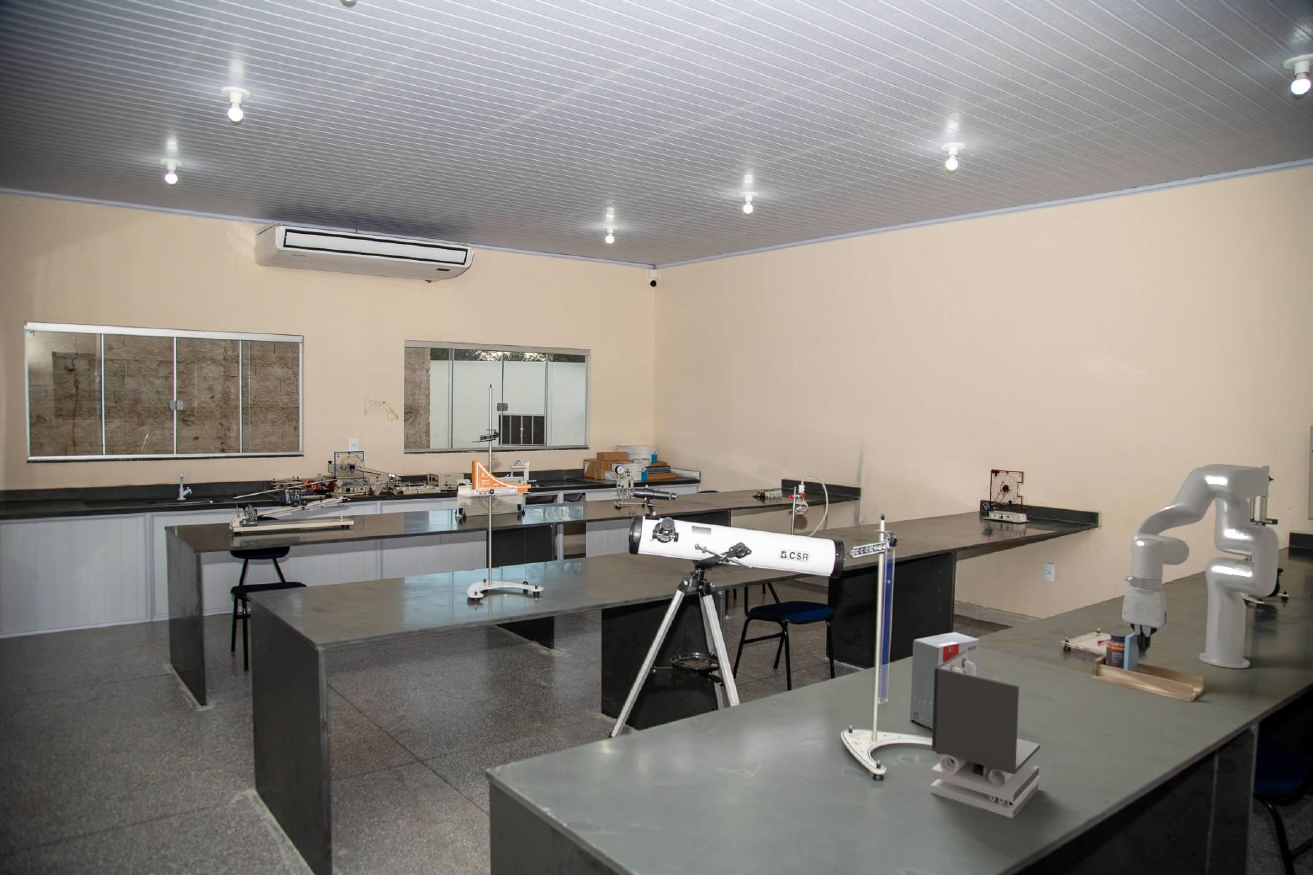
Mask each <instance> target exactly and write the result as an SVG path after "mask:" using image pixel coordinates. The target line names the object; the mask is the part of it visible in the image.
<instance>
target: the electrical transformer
mask: <svg viewBox="0 0 1313 875" xmlns="http://www.w3.org/2000/svg"><path fill="white" fill-rule="evenodd" d="M967 667H970V668H971V674H968V673H967ZM1019 694H1020V685H1015V684H1010V683H1006V682H1003V681H998V680H993V679H989V678H984V677H979V676H978V675H977V676H976V666H975V665H974V663H972V662H970V661H968V651H963V652H961V653H959V654H958V655H956V656H954V657H953V658H951V659H949V660H948V661H946V662H944V663H943V664H941V665H939V666H938V667H936V668H935V672H934V702H933V729H932V734H931V736H932V737H931V738H932V739H931V751H934V752H936V753H940V754H942V755H941V756H940V758H939V760H938V763H937V764H936V765H934V766H933V767H932V768H931V772H930V777H931V778H934V779H935V781H933V782H932V783H931V784H930V793H931V794H934V793H935V795H937V796H940V797H943V796H944V797H943V798H946V797H947V798H946V799H950V800H952V799H954V800H953V801H955V800H957V802H958V801H962V802H964V803H963V804H965V803H968V804H972V805H975V806H977V807H981V808H983V809H988V810H990V811H993V812H997V813H1000V814H1002V815H1007V816H1009V817H1014V815H1016V813H1017V812H1018V811H1019V810H1020V809H1021V808H1022V807H1023V805H1024V804H1025V805H1027V803H1028V802H1029V801H1030V800H1031V799H1032V797H1034V795H1035V794H1036V793H1037V792H1038V791H1039V781H1038V780H1039V779H1040V774H1039V773H1040V772H1039V771H1040V766H1037V765H1035V764H1031V763H1028V761H1030V760H1031V759H1033V756H1034V755H1035V754H1036V753H1037V752H1038V751H1039V749H1041V744H1040V743H1036V742H1032V741H1029V740H1024V739H1020V738H1019V737H1018V724H1019V723H1018V720H1019V718H1018V717H1019ZM1037 790H1038V791H1037ZM1036 791H1037V792H1036ZM1035 792H1036V793H1035ZM1034 793H1035V794H1034ZM1033 794H1034V795H1033ZM1030 798H1031V799H1030ZM1029 799H1030V800H1029ZM1028 800H1029V801H1028ZM1027 801H1028V802H1027ZM962 802H961V803H962ZM1026 802H1027V803H1026ZM968 804H967V805H968ZM977 807H976V808H977ZM1023 808H1024V807H1023ZM1023 808H1022V809H1023ZM983 809H982V810H983ZM1022 809H1021V810H1022ZM1021 810H1020V811H1021ZM1020 811H1019V812H1020ZM1019 812H1018V813H1019ZM1016 816H1017V815H1016ZM1014 818H1015V817H1014Z"/></svg>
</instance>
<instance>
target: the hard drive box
mask: <svg viewBox="0 0 1313 875" xmlns="http://www.w3.org/2000/svg"><path fill="white" fill-rule="evenodd" d="M979 644H980V639H979V638H975V637H973V636H970V635H969V636H968V635H966V634H962V633H959V632H956V631H954V632H948V633H947V632H946V633H941V634H937V635H932V636H927V637H921V638H916V639H913V642H912V664H911V665H912V666H911V667H912V669H911V684H910V686H911V687H910V702H909V705H910V706H909V720H910V721H912V720H914V721H916V722H915V723H917V722H918V723H917V724H919V723H920V724H919V725H921V724H922V726H923V725H924V727H926V726H927V727H926V728H928V727H929V728H928V729H930V728H931V730H933V702H934V672H935V668H936V667H938V666H939V665H941V664H943V663H944V662H946V661H948V660H949V659H951V658H953V657H954V656H956V655H958V654H959V653H961V652H963V651H968V661H970V662H972V663H974V665H975V666H976V676H977V677H978V667H979V666H978V665H979V664H978V663H979V646H980V645H979ZM967 673H968V674H971V668H970V667H967ZM914 721H913V722H914Z"/></svg>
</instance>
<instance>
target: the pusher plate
mask: <svg viewBox="0 0 1313 875" xmlns="http://www.w3.org/2000/svg"><path fill="white" fill-rule="evenodd" d="M1138 662H1139V649H1138V645H1137V634H1136V633H1135V631H1134V632H1131V633H1130V634H1128V635H1127V636H1126V637H1125V651H1124V670H1129V671H1133V672H1137V666H1138Z"/></svg>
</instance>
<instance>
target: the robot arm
mask: <svg viewBox="0 0 1313 875" xmlns="http://www.w3.org/2000/svg"><path fill="white" fill-rule="evenodd" d="M1269 485H1270V476H1269V474H1268V473H1267V471H1266V470H1265V469H1263V468H1262V467H1259V466H1250V465H1249V466H1246V465H1236V464H1226V463H1225V464H1223V463H1210V464H1207V465H1204V466H1202V467H1196V468H1194V469H1192V470H1191V471H1190V472H1189V473H1188V475H1187V477H1186V478H1185V479H1184V482H1183V484H1182V485H1181V487H1180V488H1179V490H1178V491H1177V494H1176V495H1175V497H1174V499H1173V501H1172V502H1171V503H1170V504H1168V505H1166V506H1164V507H1161V508H1160V509H1158V510H1156V511H1155V512H1153V513H1152V514H1149V515H1148V516H1147V517H1145V518H1144V519H1143V520H1142V521H1141V523H1139V525H1138V527H1137V529H1136V530H1135V532H1134V534H1133V536H1132V539H1131V541H1130V547H1129V548H1130V551H1131V568H1130V575H1129V576H1126V575H1125V578H1124V581H1126V582H1128V583H1129V585H1127V586H1126V589H1125V592H1124V597H1123V604H1122V610H1121V611H1122V612H1121V618H1122V619H1121V620H1122V624H1123V625H1125V626H1128V627H1130V628H1131V629H1132V630H1133V631H1134V632H1135V633H1136V634H1137V645H1138V651H1139V650H1140V651H1141V650H1142V651H1147V650H1148V649H1150V648H1151V642H1152V641H1151V638H1152V635H1153V634H1155V633H1164V632H1166V631H1167V630H1168V629H1167V623H1168V622H1167V620H1168V610H1167V606H1168V605H1167V598H1166V593H1165V592H1166V591H1165V590H1164V589H1163V577H1164V576H1163V574H1164V573H1163V572H1164V566H1165V565H1171V566H1177V565H1181V564H1183V563H1185V562H1186V561H1187V560H1188V558H1189V556H1190V548H1189V546H1188V544H1187V542H1185V541H1184V540H1182V539H1180V538H1176V537H1172V536H1167V535H1166V536H1165V535H1160V534H1161V533H1162V532H1165V531H1167V530H1169V529H1174V528H1178V527H1182V526H1183V527H1184V526H1187V525H1192V524H1196V523H1198V522H1200V521H1202V519H1203V518H1204V517H1205V515H1206V513H1207V512H1208V510H1209V507H1211V505H1212V503H1213V501H1214V505H1215V518H1214V519H1215V520H1214V531H1213V532H1214V535H1213V541H1214V547H1215V548H1216V549H1217V550H1218V551H1219V552H1222V553H1227V554H1232V555H1237V556H1242V557H1243V556H1244V557H1249V558H1252V560H1250V561H1249V560H1245V559H1239V558H1233V557H1227V556H1226V557H1225V556H1218V557H1213V558H1211V559H1210V560H1209V561H1208V562H1207V563H1206V565H1205V579H1206V586H1207V587H1206V588H1207V612H1206V613H1207V615H1206V629H1205V631H1206V632H1205V633H1206V634H1205V635H1206V636H1205V652H1204V651H1203V652H1201V653H1199V655H1198V658H1199V660H1200V661H1202V662H1204V663H1206V664H1209V665H1212V666H1216V667H1221V668H1226V669H1227V668H1228V669H1246V668H1248V667H1249V668H1250V667H1251V666H1250V661H1249V660H1247V659H1246V658H1244V655H1245V654H1244V653H1245V640H1246V639H1245V635H1246V617H1247V616H1246V615H1247V606H1246V603H1245V600H1244V598H1243V597H1242V595H1241V593H1242V594H1247V595H1253V596H1257V597H1258V596H1259V597H1267V596H1269V595H1271V594H1272V593H1273V592H1274V591H1275V588H1276V585H1277V578H1278V577H1277V576H1278V568H1279V567H1278V566H1279V564H1278V563H1279V553H1280V552H1279V550H1280V541H1279V540H1280V539H1279V536H1278V534H1277V532H1276V531H1275V530H1274V529H1273V528H1271V527H1269V526H1266V525H1260V524H1252V523H1251V505H1250V502H1249V501H1248V499H1253V498H1256V497H1260V496H1262V495H1264V494H1265V493H1266V492H1267V490H1268V488H1269ZM1143 626H1144V627H1145V631H1144V627H1143Z"/></svg>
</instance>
